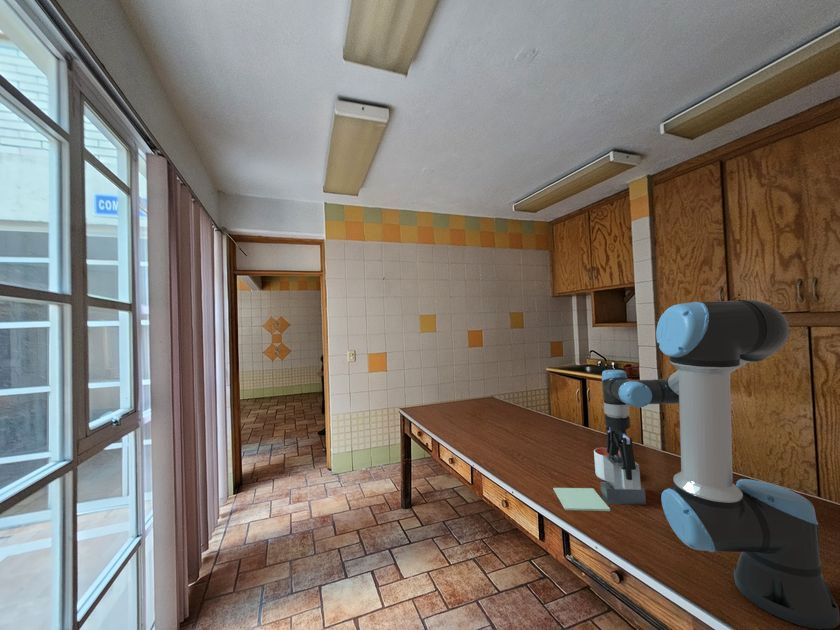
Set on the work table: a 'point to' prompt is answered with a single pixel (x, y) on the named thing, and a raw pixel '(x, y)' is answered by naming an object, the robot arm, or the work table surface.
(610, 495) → the grey block
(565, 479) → the work table surface
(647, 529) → the work table surface
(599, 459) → the cup
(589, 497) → the mat
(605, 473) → the collar
